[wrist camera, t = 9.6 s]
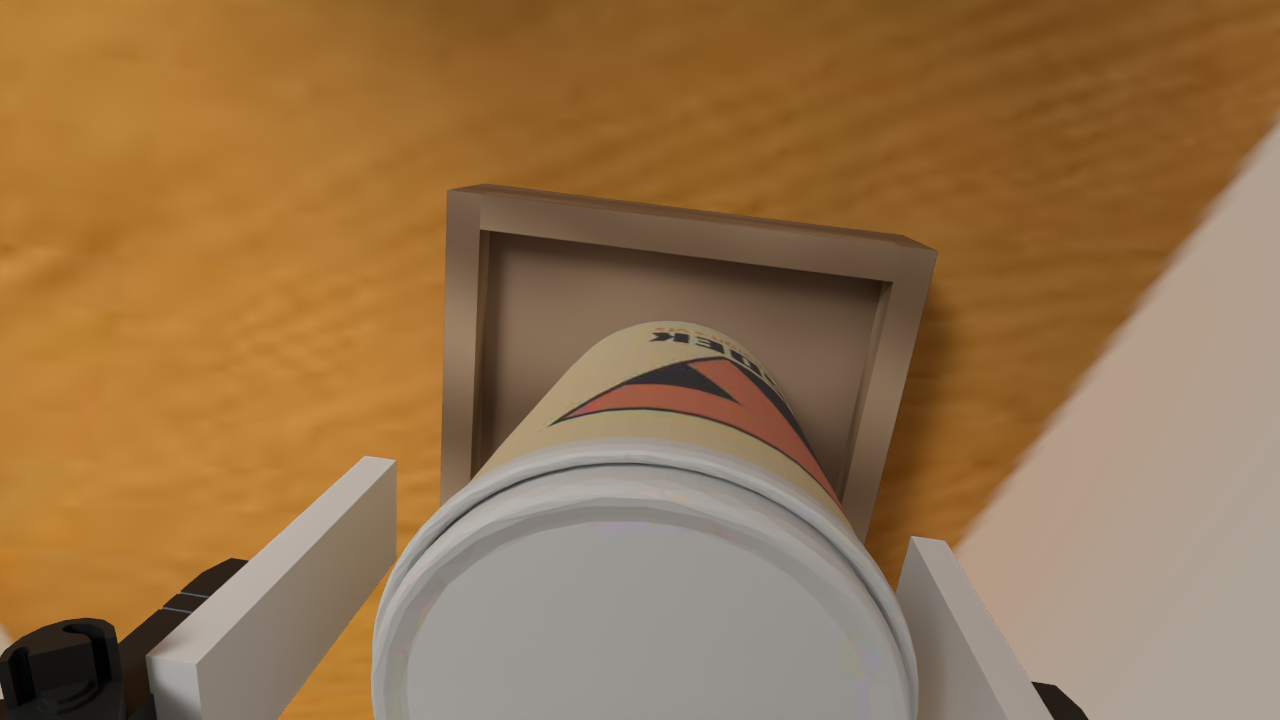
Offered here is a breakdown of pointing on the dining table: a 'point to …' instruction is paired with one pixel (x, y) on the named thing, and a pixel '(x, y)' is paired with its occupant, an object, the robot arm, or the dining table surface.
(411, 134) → the dining table surface
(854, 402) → the square wooden tray
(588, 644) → the coffee cup
